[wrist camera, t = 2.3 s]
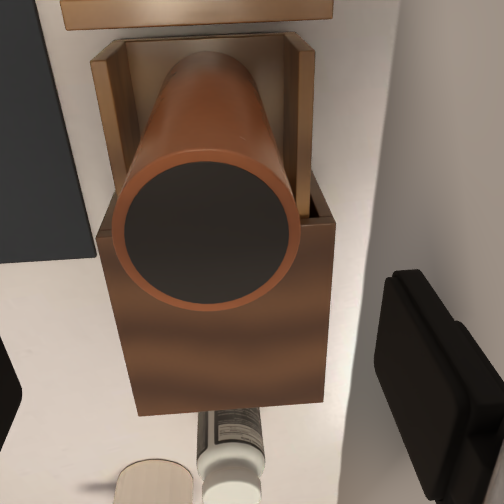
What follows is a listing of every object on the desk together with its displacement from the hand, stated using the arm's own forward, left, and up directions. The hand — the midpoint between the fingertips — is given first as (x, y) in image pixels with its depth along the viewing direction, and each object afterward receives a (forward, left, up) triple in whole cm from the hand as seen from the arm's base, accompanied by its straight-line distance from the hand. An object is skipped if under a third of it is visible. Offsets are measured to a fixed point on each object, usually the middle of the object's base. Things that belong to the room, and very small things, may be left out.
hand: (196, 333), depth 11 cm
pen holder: (0, 0, -20) cm, 20 cm away
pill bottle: (+20, +20, -23) cm, 36 cm away
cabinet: (+8, +9, -22) cm, 26 cm away
